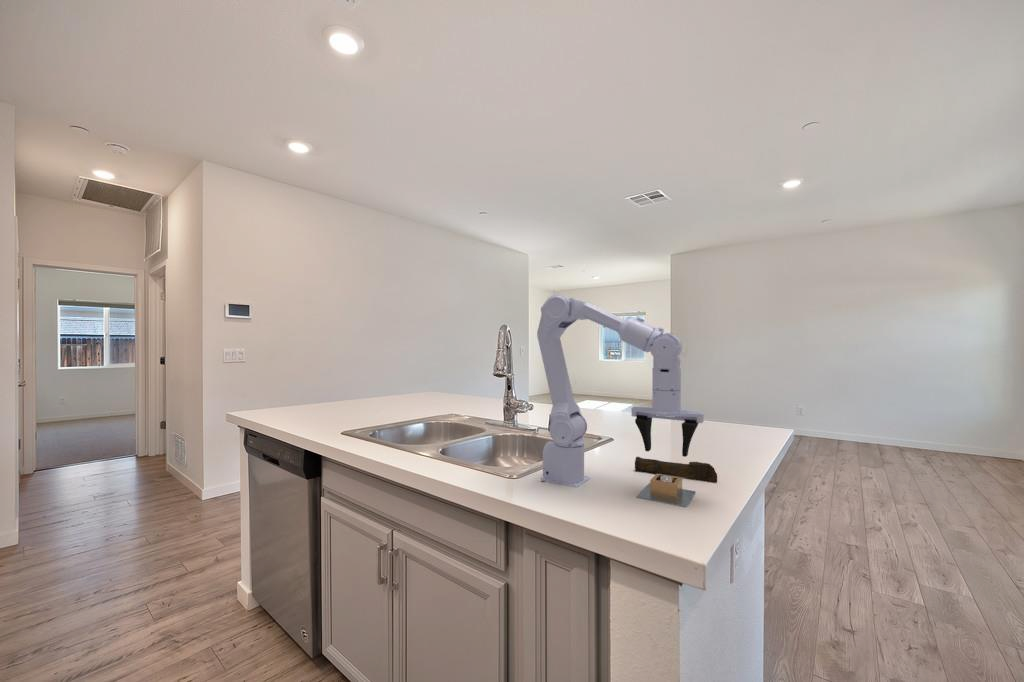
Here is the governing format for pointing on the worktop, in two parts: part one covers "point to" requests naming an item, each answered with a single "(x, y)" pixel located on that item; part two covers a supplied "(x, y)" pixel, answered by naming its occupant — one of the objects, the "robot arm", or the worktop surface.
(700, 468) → the dark brown long piece
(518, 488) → the worktop surface
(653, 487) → the square wooden frame
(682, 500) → the piston plate
